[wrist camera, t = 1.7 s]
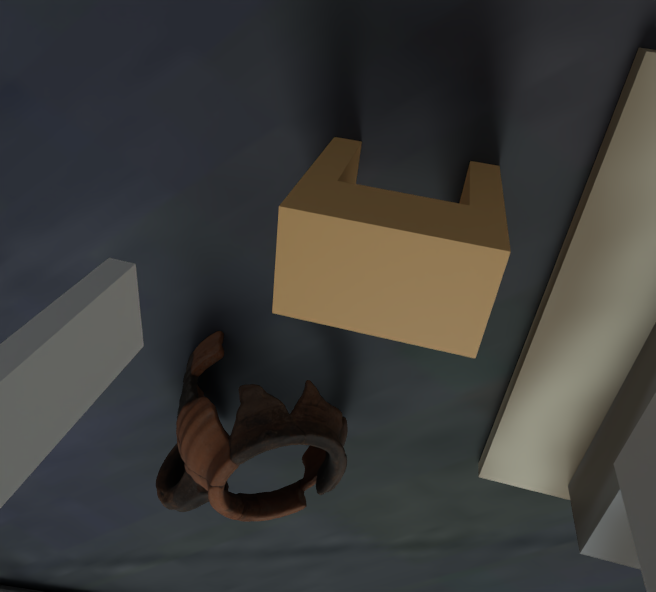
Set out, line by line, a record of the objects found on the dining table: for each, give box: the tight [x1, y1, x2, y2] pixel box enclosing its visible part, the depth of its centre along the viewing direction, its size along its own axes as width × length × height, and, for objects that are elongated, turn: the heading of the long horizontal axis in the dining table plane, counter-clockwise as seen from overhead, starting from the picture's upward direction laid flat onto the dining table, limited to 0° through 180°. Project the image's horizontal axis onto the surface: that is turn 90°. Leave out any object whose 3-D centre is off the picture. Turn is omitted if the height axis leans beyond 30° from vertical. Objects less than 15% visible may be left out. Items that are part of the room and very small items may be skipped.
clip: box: [272, 137, 511, 358], centre depth 21 cm, size 7×4×8 cm, turn 84°
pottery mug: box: [156, 331, 347, 521], centre depth 31 cm, size 12×10×8 cm
